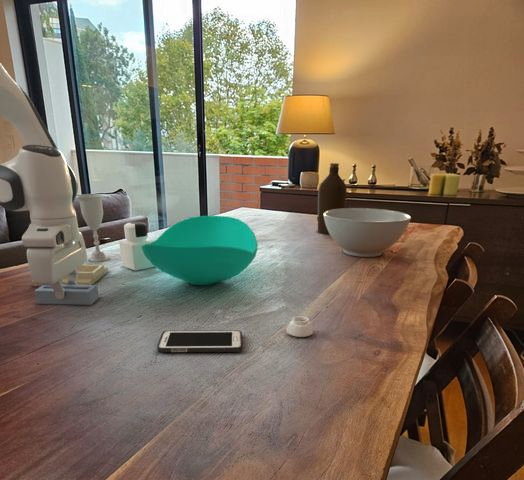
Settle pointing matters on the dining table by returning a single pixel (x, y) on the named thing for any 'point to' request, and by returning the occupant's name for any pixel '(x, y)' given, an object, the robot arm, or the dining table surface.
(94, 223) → the chalice
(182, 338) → the cell phone
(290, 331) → the lidless jar
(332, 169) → the olive oil
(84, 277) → the base pad
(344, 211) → the decorative bowl
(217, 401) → the dining table surface
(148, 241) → the medicine bottle
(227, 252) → the table top decor
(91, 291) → the blue pad
